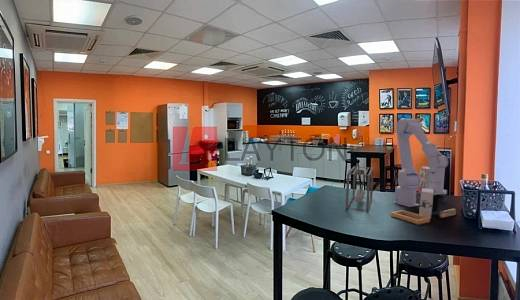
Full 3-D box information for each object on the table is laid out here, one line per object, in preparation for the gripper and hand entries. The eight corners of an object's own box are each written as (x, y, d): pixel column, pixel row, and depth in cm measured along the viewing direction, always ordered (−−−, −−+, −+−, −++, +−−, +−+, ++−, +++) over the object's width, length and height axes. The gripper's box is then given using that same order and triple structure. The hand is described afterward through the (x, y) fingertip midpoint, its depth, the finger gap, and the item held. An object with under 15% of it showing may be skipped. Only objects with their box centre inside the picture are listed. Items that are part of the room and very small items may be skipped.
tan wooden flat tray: (391, 216, 139) (391, 212, 139) (402, 213, 143) (402, 210, 143) (418, 224, 128) (418, 220, 128) (429, 222, 132) (430, 217, 132)
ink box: (420, 212, 146) (421, 187, 145) (432, 214, 144) (433, 189, 142) (418, 217, 139) (420, 191, 138) (431, 219, 136) (433, 192, 135)
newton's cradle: (368, 212, 145) (370, 174, 143) (345, 209, 149) (346, 172, 147) (372, 198, 173) (373, 166, 171) (352, 196, 177) (354, 165, 175)
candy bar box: (417, 193, 187) (419, 166, 186) (426, 193, 186) (428, 166, 185) (423, 197, 176) (425, 168, 175) (433, 198, 175) (435, 169, 174)
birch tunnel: (419, 211, 148) (419, 206, 148) (432, 208, 153) (433, 203, 153) (442, 217, 139) (442, 212, 138) (455, 214, 144) (456, 209, 144)
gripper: (436, 184, 136) (434, 214, 138) (454, 181, 144) (452, 210, 145) (420, 181, 142) (419, 210, 144) (439, 179, 150) (437, 207, 151)
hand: (434, 210), depth 145 cm, fingers closed
